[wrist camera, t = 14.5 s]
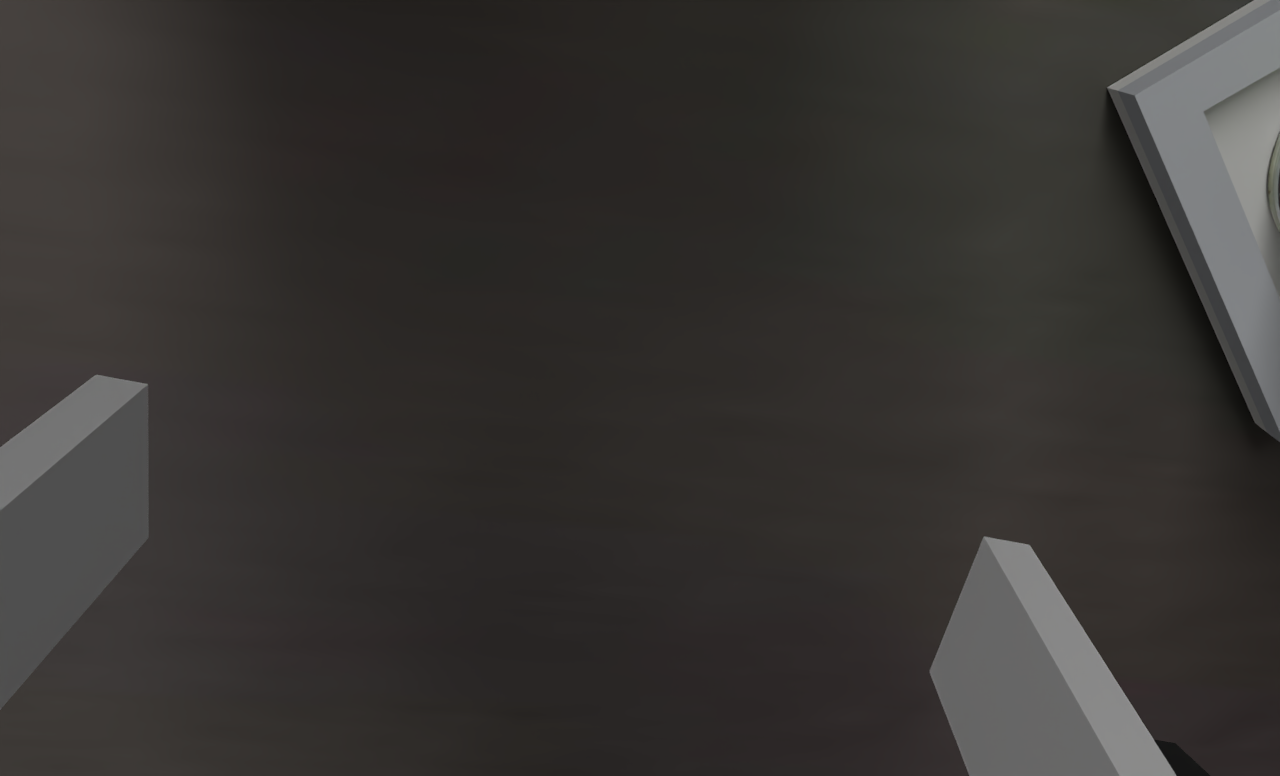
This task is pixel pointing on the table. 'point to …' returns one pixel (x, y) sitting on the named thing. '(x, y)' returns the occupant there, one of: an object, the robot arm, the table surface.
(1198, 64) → the plate
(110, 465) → the robot arm
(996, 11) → the table surface
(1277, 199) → the coffee can
